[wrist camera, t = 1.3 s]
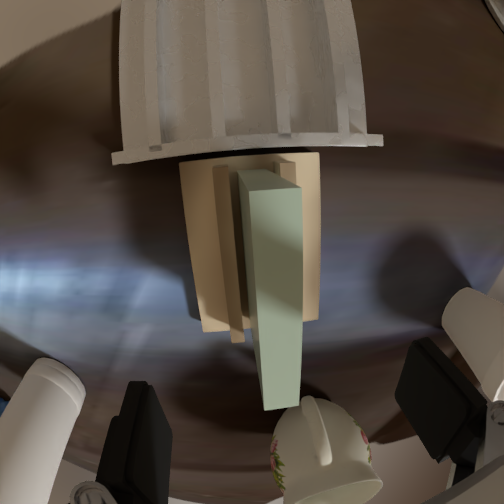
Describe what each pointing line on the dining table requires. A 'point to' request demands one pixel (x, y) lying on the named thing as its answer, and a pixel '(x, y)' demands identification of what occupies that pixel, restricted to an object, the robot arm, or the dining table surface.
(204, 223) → the stand
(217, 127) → the rack
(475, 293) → the foam cup
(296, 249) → the sage green plank
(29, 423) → the bottle
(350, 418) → the pitcher
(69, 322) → the dining table surface
